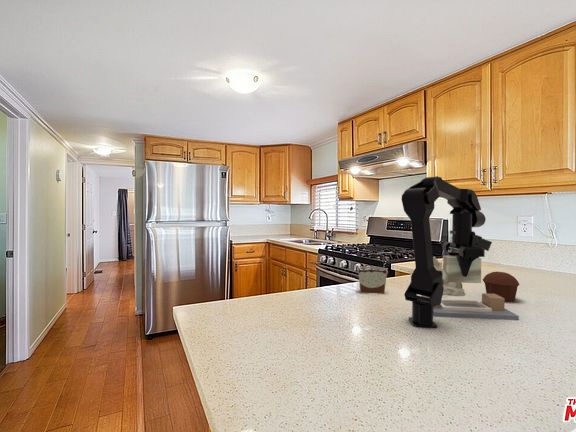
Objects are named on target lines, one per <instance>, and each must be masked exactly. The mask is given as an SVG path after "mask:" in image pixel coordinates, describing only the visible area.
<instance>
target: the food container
mask: <svg viewBox="0 0 576 432" xmlns="http://www.w3.org/2000/svg"><path fill="white" fill-rule="evenodd" d="M356 274H358V281H359V291H360V294H368V293H377V294H376V295H385V293H386V292H385V291H386V284H387V275H389V270H388V268H386V267H381V266H373V265H372V266H371V265H370V266H369V265H368V266H366V265H365V266H359V267H357V271H356Z"/></svg>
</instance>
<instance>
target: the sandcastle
mask: <svg viewBox="0 0 576 432" xmlns="http://www.w3.org/2000/svg"><path fill="white" fill-rule="evenodd" d="M433 262H434V267H435V269H436V270H439V271H441V272H442V280H443V283H444V284H443V287H444V290H443V295H442V296H451V297H464V296H466V293H465V289H464V288H463V283H459V282H447V281H445V280H444V279H443V261H442V262H440V261H439V260H438V259H437V257H436V256H433Z"/></svg>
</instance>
